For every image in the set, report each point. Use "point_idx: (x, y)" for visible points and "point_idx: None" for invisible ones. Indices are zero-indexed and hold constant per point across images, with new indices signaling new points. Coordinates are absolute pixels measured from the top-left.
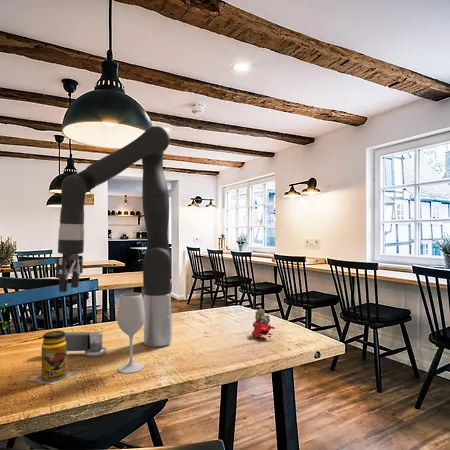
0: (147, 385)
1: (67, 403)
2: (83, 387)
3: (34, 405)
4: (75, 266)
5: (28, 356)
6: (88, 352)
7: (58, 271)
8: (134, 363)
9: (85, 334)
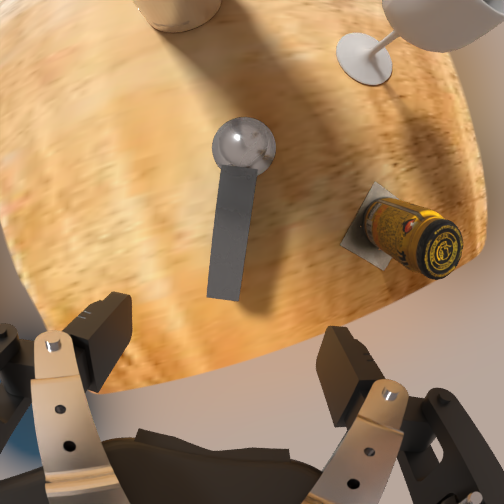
0: None
1: (474, 176)
2: (437, 154)
3: (468, 225)
4: (131, 467)
5: (232, 322)
6: (262, 165)
7: (423, 469)
8: (361, 48)
9: (250, 179)
